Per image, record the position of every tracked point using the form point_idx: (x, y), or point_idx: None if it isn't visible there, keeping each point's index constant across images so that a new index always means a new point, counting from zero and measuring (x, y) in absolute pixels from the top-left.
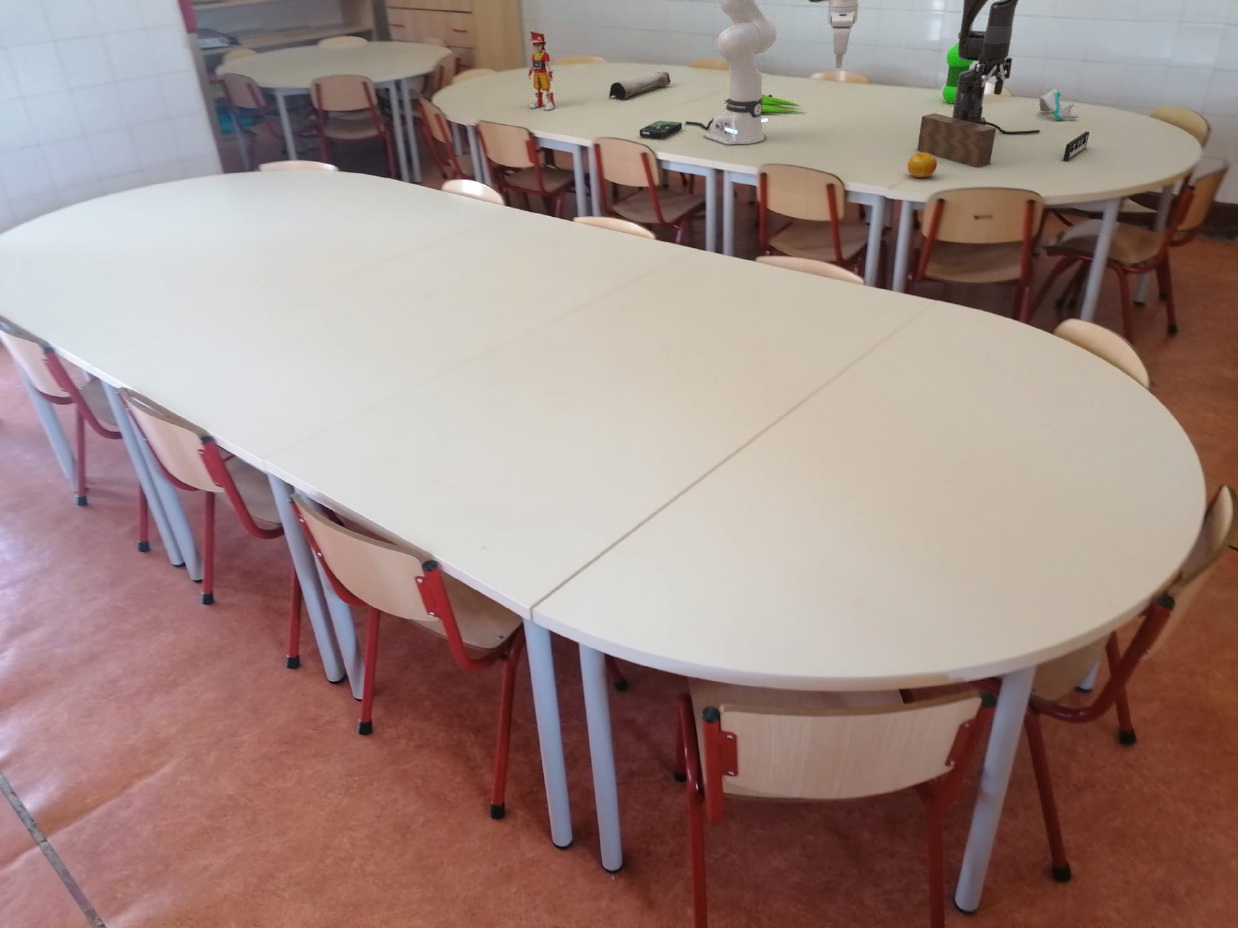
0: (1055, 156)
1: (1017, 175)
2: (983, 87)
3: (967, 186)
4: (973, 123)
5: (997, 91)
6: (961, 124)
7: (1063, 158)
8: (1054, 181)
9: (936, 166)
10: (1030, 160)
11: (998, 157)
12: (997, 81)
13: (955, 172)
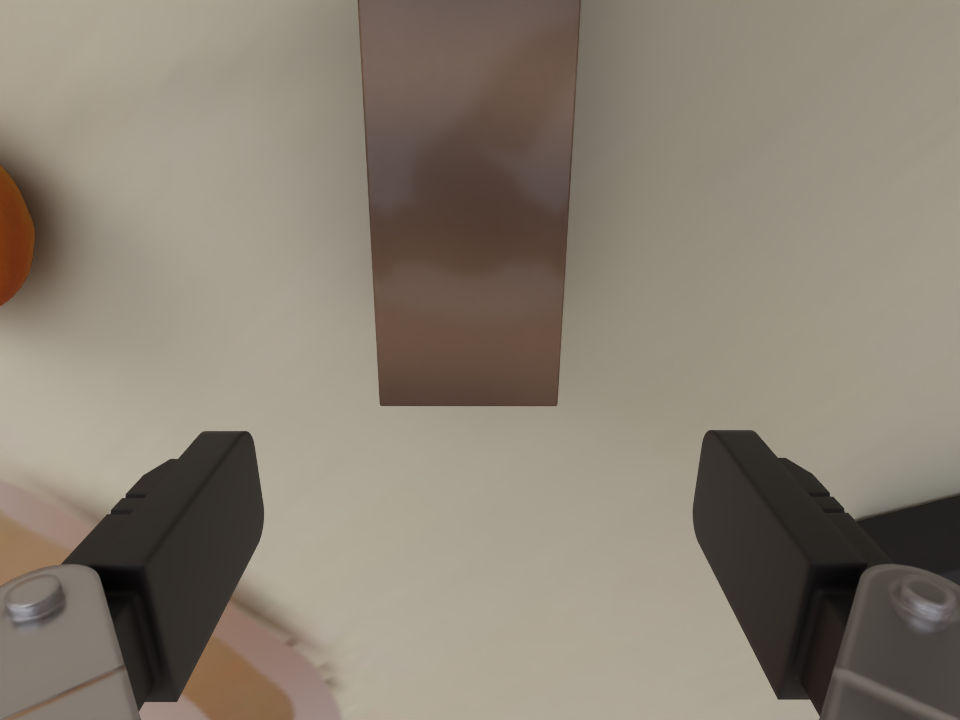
0: (914, 448)
1: (468, 530)
2: (164, 698)
3: (119, 496)
4: (541, 145)
5: (718, 515)
6: (414, 80)
7: (861, 527)
8: (522, 669)
9: (2, 303)
10: (754, 412)
11: (685, 252)
12: (825, 600)
13: (230, 293)
